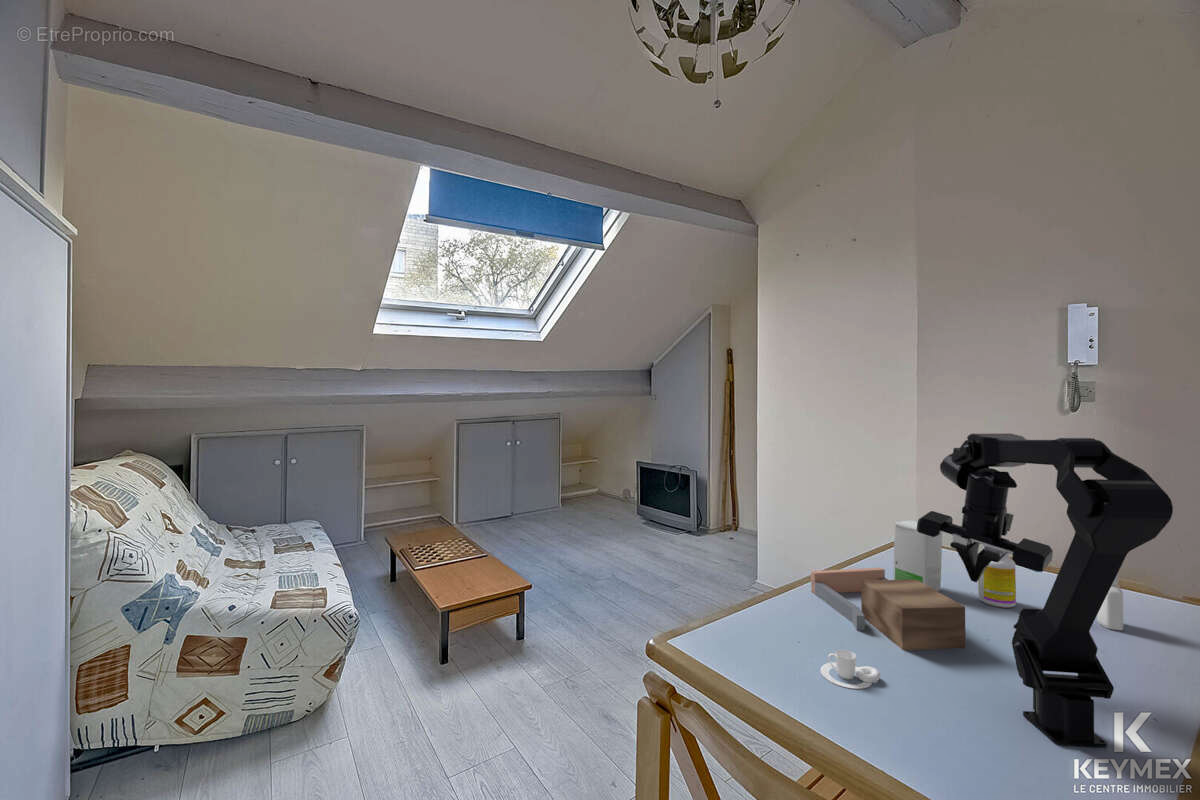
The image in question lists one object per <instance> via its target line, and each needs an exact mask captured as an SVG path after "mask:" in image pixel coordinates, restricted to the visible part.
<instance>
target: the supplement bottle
mask: <svg viewBox="0 0 1200 800" xmlns="http://www.w3.org/2000/svg"><path fill="white" fill-rule="evenodd" d="M982 545H983V544H982ZM983 546H984V545H983ZM983 546H982V547H983ZM983 549H984V547H983V548H982V550H983ZM1010 554H1011V553H1007V554H1006V555H1005V556H1004V557H1003V558H1002V559H1001V560H1000V561H999V562H993V561H991V562H990V564H989V565H988V566H987V568H986V569H985V571H984V572H983V574H982V576H981V577H980V579H979V580H978V581H977V583H978V587H977V588H978V599H979V601H981V602H983V603H984V604H987V605H990V606H993V607H997V608H1008V609H1009V608H1013V607H1015V606H1016V603H1017V598H1016V597H1017V595H1016V594H1017V591H1016V590H1017V588H1016V586H1017V585H1016V583H1017V582H1016V580H1017V578H1016V563H1015V562H1014V561H1013V560H1012V558H1010V557H1009V556H1010Z"/></svg>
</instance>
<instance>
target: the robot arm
mask: <svg viewBox="0 0 1200 800" xmlns="http://www.w3.org/2000/svg"><path fill="white" fill-rule="evenodd" d="M1026 464H1031V465H1032V464H1033V465H1047V466H1053V467H1054V468H1055V470H1056V471H1057V475H1056V481H1055V482H1056V483H1055V488H1056V490H1057V491H1058V492H1059V494H1060V495H1061V497H1062V498H1063V499H1064V500H1065V502H1066V503H1067V508H1066V509H1067V510H1066V515H1067V517H1068V520H1069V522H1070V523H1071V525H1072V528H1073V530H1074V536H1073V538H1072V540H1071V543H1070V545H1069V548H1068V550H1067V553H1066V554H1065V557H1064V559H1063V562H1062V564H1061V566H1060V569H1059V572H1058V574H1057V575H1056V579H1055V581H1054V583H1053V585H1052V587H1051V590H1050V592H1049V595H1048V597H1047V600H1046V602H1045V604H1044V606H1043V608H1042V609H1041V608H1039V609H1038V608H1025V607H1024V608H1022V610H1020V611H1019V613H1018V620H1017V622H1016V623H1015V624H1013V628H1014V629H1015V630H1014V634H1013V637H1012V640H1011V646H1012V650H1013V655H1014V661H1015V664H1016V665H1015V666H1016V669H1017V673H1018V676H1019V677H1020V678H1021V679H1022V684H1023V686H1025V687H1028V688H1030V689H1032V694H1033V695H1032V709H1033V711H1031V710H1030V711H1027V710H1023V711H1022V715H1023V717H1024V718H1026V719H1027V720H1028V721H1029V722H1030V723H1031V724H1032V725H1034V727H1036V728H1037V729H1039V731H1040V732H1041V733H1043V734H1044V735H1045V736H1046V737H1047V738H1048V739H1050V740H1051V741H1052V742H1054V743H1055V744H1056V745H1063V746H1065V745H1066V746H1082V747H1083V746H1084V747H1098V748H1099V747H1101V748H1106V747H1108V742H1107V741H1106V740H1104V739H1103V738H1102V737H1101V736H1100V735H1098V734H1097V733H1096V732H1095V700H1094V699H1092V698H1101V699H1105V700H1106V699H1107V700H1110V699H1111V698H1112V695H1113V692H1114V690H1115V689H1114V688H1115V687H1114V684H1112V682H1111V680H1110V678H1109V676H1108V674H1107V672H1106V671H1105V669H1104V667H1103V666H1102V664H1101V662H1100V660H1099V658H1098V656H1097V654H1098V650H1099V648H1098V646H1097V644H1096V642H1095V640H1094V637H1093V636H1092V633H1091V632H1090V631H1091V629H1092V626H1093V624H1094V622H1095V620H1096V619H1097V614H1098V612H1099V610H1100V608H1101V606H1102V604H1103V602H1104V600H1105V598H1106V596H1107V594H1108V592H1109V590H1110V588H1111V586H1112V584H1113V582H1114V580H1115V578H1116V576H1117V574H1118V575H1119V571H1120V569H1121V567H1122V566H1123V563H1124V561H1125V559H1126V557H1127V555H1128V554H1129V553H1130V552H1131V551H1133V550H1135V549H1136V548H1139V547H1140V546H1142V545H1144V544H1146V543H1148V542H1150V541H1152V540H1154V539H1156V538H1157V536H1158V535H1159V534H1160V533H1161V532H1162V531H1163V529H1164V528H1165V527H1166V526H1167V524H1168V523H1170V521H1171V519H1172V517H1173V513H1174V506H1173V503H1172V499H1171V497H1170V496H1169V495H1168V493H1167V492H1166V491H1165V490H1163V488H1162V487H1161V486H1160V485H1159V484H1158V483H1157V481H1155V480H1154V479H1153V477H1151V475H1150V474H1148V472H1147V471H1145V470H1144V469H1143V468H1142V467H1139V466H1137V465H1135V464H1133V463H1131V461H1128V460H1126V459H1125V458H1122V457H1120V456H1119V455H1117V454H1115V453H1114V452H1112V450H1111V449H1110V448H1109V447H1108V446H1107V445H1106V444H1105V443H1104V442H1103V441H1101V440H1099V439H1095V438H1094V437H1093V438H1092V437H1059V438H1056V439H1027V438H1025V437H1024V436H1023V435H1018V434H1014V433H1006V432H1005V433H970V434H969V435H967V437H966V440H965V441H963V442H962V443H961V446H960V447H953V451H952V453H950V454H948V455H947V456H945V457H944V458H943V459H942V462H940V464H939V470H940V473H941V475H942V476H943V477H944V478H946V479H948V480H949V481H951V483H953V484H954V485H955V486H957V487H958V488H960V489H961V490H963V491H965V497H964V506H962V508H961V514H963V515H962V521H961V522H962V523H961V525H958V524H955V523H953V522H954V521H953V518H952V516H951V515H947V514H944V513H941V512H937V511H934V510H931V511H929V512H927V513H925V514H924V515H923V516H921V517H919V518H918V520H917V521H916V522H917V531H918V532H919V533H922V534H925V535H928V536H931V537H935V536H937V535H939V534H940V531H942V533H946V534H948V535H949V534H950V535H952V542H950V547H951V548H952V549H955V550H956V552H957V553H958V556H959V558H960V559H961V561H962V563H963V565H964V568H965V569H966V572H967V574H968V577H969V579H970V581H971V582H974V583H978V580H979V579H980V577H981V576H982V574H983V572H984V571H985V569H986V568H987V566H988V565H989V564H990V562H991V561H993V562H999V561H1000V560H1001V559H1002V558H1003V557H1004V556H1005V555H1006V554H1007V553H1010V554H1012V556H1011V559H1012V560H1013V561H1014V563H1015V565H1016V566H1018V567H1021V568H1025V569H1028V570H1031V571H1034V572H1036V573H1037V572H1038V573H1042V572H1044V571H1045V569H1046V568H1047V567H1048V566H1049V565H1050V563H1051V562H1052V560H1053V554H1054V551H1053V549H1052V548H1051V546H1050V545H1048V544H1046V543H1042V542H1038V541H1034V540H1032V539H1028V538H1025V537H1024V538H1022V540H1020V541H1019V542H1018V543H1017V542H1014V541H1011V540H1009V539H1007V538H1004V537H1005V536H1007V534H1008V532H1010V531H1011V527H1012V524H1013V520H1014V514H1012V513H1008V510H1007V509H1008V508H1007V501H1008V494H1009V489H1016V488H1017V487H1018V484H1017V482H1016V480H1015V479H1014V478H1012V476H1011V475H1010V473H1009V471H1000V470H998V469H995V468H1015V467H1020V466H1025V465H1026ZM991 467H992V468H991ZM993 467H994V468H993ZM1076 468H1078V469H1079V468H1080V469H1081V468H1083V469H1085V468H1086V469H1088V468H1089V469H1092V470H1093V471H1094V473H1096V474H1098V475H1100V476H1101V477H1103V478H1105V479H1097V478H1095V479H1092V478H1091V479H1090V478H1087V479H1084V480H1082V478H1081V477H1080V476H1079V475H1078V473H1076V471H1075V469H1076ZM1002 536H1004V537H1002ZM980 545H984V546H982V547H984V549H983V548H982V550H981V551H978V550H979V547H980ZM1044 672H1054V673H1055V674H1054V673H1044ZM1056 672H1057V673H1058V674H1057V673H1056ZM1059 673H1069V674H1059ZM1071 673H1073V674H1077V675H1073V674H1071Z"/></svg>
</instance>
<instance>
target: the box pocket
mask: <svg viewBox="0 0 1200 800" xmlns="http://www.w3.org/2000/svg"><path fill="white" fill-rule="evenodd" d="M885 571H886V570H885V569H884V568H883V567H868V568H867V567H866V568H865V567H863V568H850V569H849V568H847V569H845V568H844V569H830V570H829V569H828V570H812V571H810V572H811V573H810V575H811V576H810V580H811V581H810V583H811V586H810V587H811V591H810V592H811V593H812V594H814V595H815V596H817V597H818V598H819V599H820V600H822V601H824V602H825V603H826V604H827V605H829V606H830V607H831V608H832V609H834V610H835V611H837V612H838V613H839V614H841V615H842V616H843V617H845V619H847V620H848V621H850V622H852V624H853V626H854V628H855V630H856V631H862V632H866V620H865V616H864V614H863V613H862V609H861V608H860V607H859V606H857V605H856V604H854V603H853V602H851V601H850V600H848V599H847V598H845V597H844V596H843V595H841V594H840V593H842V594H843V593H857V592H858V593H859V592H860V593H861V581H863V580H889V579H888V578H886V575H885V574H886V572H885Z"/></svg>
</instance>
